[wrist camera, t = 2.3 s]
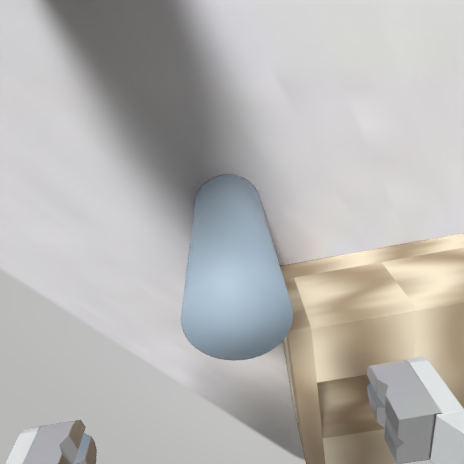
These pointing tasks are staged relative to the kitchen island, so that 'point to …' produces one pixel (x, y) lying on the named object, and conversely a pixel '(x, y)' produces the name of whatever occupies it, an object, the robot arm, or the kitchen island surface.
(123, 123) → the kitchen island surface
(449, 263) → the bore block
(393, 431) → the robot arm
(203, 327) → the pin
